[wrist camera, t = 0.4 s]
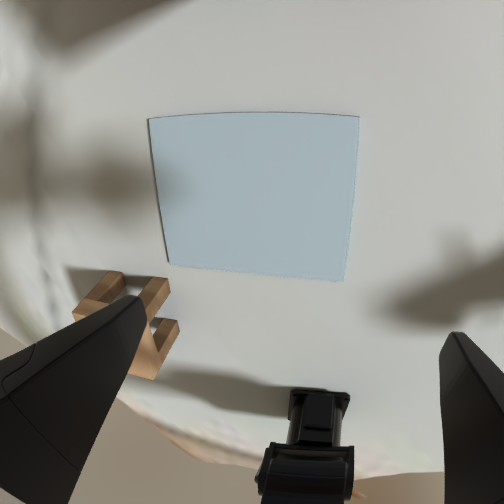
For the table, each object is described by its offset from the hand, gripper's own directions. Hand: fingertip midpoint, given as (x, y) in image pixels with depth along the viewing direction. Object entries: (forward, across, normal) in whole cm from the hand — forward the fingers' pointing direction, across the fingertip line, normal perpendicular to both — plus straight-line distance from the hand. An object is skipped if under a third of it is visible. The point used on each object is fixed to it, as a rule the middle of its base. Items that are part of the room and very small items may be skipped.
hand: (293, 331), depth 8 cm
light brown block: (+14, +15, +13) cm, 24 cm away
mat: (+14, +4, +2) cm, 15 cm away
